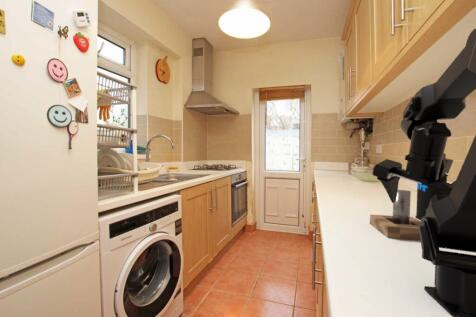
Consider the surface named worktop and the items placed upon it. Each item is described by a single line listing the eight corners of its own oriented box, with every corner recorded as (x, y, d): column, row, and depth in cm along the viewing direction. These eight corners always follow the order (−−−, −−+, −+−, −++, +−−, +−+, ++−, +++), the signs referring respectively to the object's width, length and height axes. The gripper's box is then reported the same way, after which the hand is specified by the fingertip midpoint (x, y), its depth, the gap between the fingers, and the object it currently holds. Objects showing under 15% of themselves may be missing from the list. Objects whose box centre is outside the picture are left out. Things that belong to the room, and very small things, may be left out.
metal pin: (409, 235, 64) (411, 192, 63) (392, 232, 66) (393, 190, 66) (408, 231, 67) (410, 190, 67) (392, 228, 69) (393, 189, 69)
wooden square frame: (437, 241, 60) (438, 229, 60) (387, 237, 62) (387, 226, 62) (411, 226, 72) (411, 216, 71) (369, 223, 74) (370, 214, 74)
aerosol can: (443, 218, 81) (446, 162, 80) (448, 224, 74) (451, 162, 73) (414, 214, 85) (416, 161, 85) (416, 220, 78) (418, 161, 78)
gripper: (505, 150, 44) (481, 216, 50) (400, 132, 59) (393, 184, 66) (479, 169, 40) (457, 239, 46) (374, 144, 55) (368, 198, 61)
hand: (413, 210), depth 55 cm, fingers open, 9 cm apart
